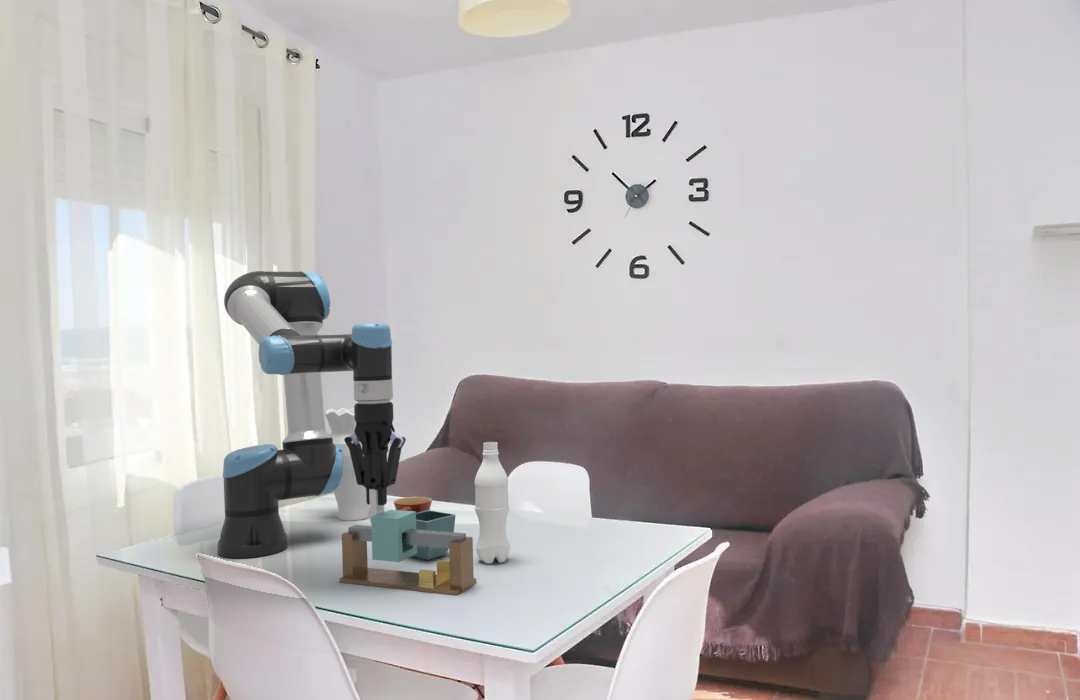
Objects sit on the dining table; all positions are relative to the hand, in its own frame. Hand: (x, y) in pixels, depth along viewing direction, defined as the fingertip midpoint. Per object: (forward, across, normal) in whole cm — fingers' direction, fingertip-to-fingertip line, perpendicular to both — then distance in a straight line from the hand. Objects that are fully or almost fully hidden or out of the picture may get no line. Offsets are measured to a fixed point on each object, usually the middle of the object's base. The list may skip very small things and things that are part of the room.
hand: (377, 521), depth 162 cm
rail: (+12, +6, 0) cm, 13 cm away
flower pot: (+12, +1, +18) cm, 22 cm away
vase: (+12, -38, +46) cm, 61 cm away
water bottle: (+12, +16, +19) cm, 28 cm away
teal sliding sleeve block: (+3, +4, 0) cm, 5 cm away
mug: (+12, -7, +24) cm, 28 cm away
